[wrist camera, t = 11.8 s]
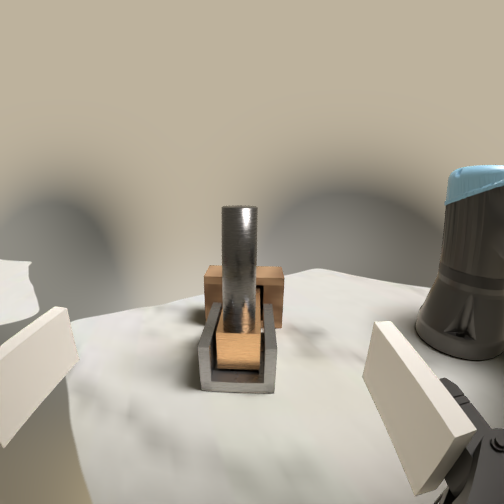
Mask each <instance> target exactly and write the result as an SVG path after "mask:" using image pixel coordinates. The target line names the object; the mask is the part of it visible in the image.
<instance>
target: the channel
mask: <svg viewBox="0 0 504 504" xmlns="http://www.w3.org/2000/svg"><path fill="white" fill-rule="evenodd" d="M221 312H222V303H218V302H213V304H212V307H211V310H210V313H209V315H208V318H207V321H206V324H205V327H204V330H203V332H202V335H201V338H200V341H199V344H198V358H199V370H200V380H201V390H203V391H218V392H239V393H274V389H275V375H276V360H277V343H276V334H275V325H274V316H273V307H272V304H263V332H262V333H261V340H260V370H246V369H220V368H218V365H217V344H216V331H217V327H218V323H219V320H220V316H221Z"/></svg>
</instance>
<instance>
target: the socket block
mask: <svg viewBox="0 0 504 504" xmlns="http://www.w3.org/2000/svg"><path fill="white" fill-rule="evenodd" d="M256 285H260V324H261V328H263V304H272V307H273V316H274V325H275V328H282V312H283V294H284V275H283V272H282V268H281V267H262V266H261V267H260V266H256ZM204 293H205V316H206V321H207V318H208V315H209V313H210V310H211V307H212V304H213V302H218V303H222V308H223V296H222V266H214V265H210V266H209V268H208V270H207V272H206V274H205V275H204Z"/></svg>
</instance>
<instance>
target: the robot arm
mask: <svg viewBox="0 0 504 504" xmlns="http://www.w3.org/2000/svg"><path fill="white" fill-rule="evenodd" d="M445 206H446V211H445V223H444V233H443V243H442V250H441V256H440V263H439V270H438V275H437V278H436V279H435V282H434V284H433V286H432V288H431V289H430V291H429V294H428V296H427V298H426V300H425V302H424V304H423V305H422V306H421V308H420V310H419V313H418V317H417V322H416V331H417V333H418V334H419V336H420V337H421V338H422V339H423V340H424V341H425V342H426V343H428V344H429V345H430V346H432V347H434V348H435V349H437V350H439V351H441V352H444V353H446V354H449V355H452V356H455V357H459V358H464V359H471V360H484V359H490V358H493V357H496V356H498V355H499V354H501V353H502V352H503V351H504V166H501V165H482V166H469V167H463V168H459V169H456V170H454V171H453V172H452V173H451V174H450V176H449V179H448V187H447V197H446V201H445ZM78 361H79V356H78V352H77V349H76V345H75V341H74V337H73V333H72V329H71V324H70V320H69V315H68V310H67V308H63V307H57V306H55V307H53V308H52V309H50V310H49V311H47V312H46V313H45V314H43V315H42V316H40V317H39V318H38V319H36V320H35V321H34V322H32V323H31V324H29V325H28V326H26V327H25V328H24V329H22V330H21V331H20V332H19V333H17V334H16V335H14V336H13V337H12V338H10V339H9V340H8V341H6V342H5V343H4V344H2V345H1V346H0V446H1V447H3V448H5V446H6V445H7V444H8V443H9V441H10V440H11V439H12V438H13V436H14V435H15V434H16V433H17V431H18V430H19V429H20V428H21V427H22V425H23V424H24V423H25V422H26V420H27V419H28V418H29V417H30V416H31V415H32V413H33V412H34V411H35V410H36V409H37V407H38V406H39V405H40V404H41V403H42V402H43V400H44V399H45V398H46V397H47V396H48V395H49V393H50V392H51V391H52V390H53V389H54V388H55V386H56V385H57V384H58V383H59V382H60V381H61V380H62V379H63V378H64V376H65V375H66V374H67V373H68V372H69V371H70V370H71V369H72V368H73V366H74V365H75V364H76V363H77V362H78ZM362 377H363V379H364V382H365V384H366V386H367V388H368V390H369V392H370V394H371V397H372V399H373V401H374V403H375V405H376V407H377V410H378V412H379V414H380V416H381V418H382V421H383V423H384V425H385V427H386V429H387V432H388V434H389V436H390V438H391V441H392V443H393V445H394V448H395V450H396V452H397V455H398V457H399V459H400V462H401V464H402V466H403V469H404V471H405V473H406V476H407V478H408V481H409V483H410V486H411V488H412V490H413V493H414V495H415V496H417V495H421V494H424V493H427V492H430V491H433V490H436V489H437V487H438V486H439V485H440V484H441V482H442V481H443V480H444V479H445V481H446V483H447V485H448V486H447V488H446V489H445V490H444V491H443V493H442V494H441V495H440V496H439V497H438V498H437V500H436V501H435V503H434V504H438V502H439V501H440V503H439V504H504V429H499V428H495V429H491V428H490V426H489V425H488V424H487V422H486V421H485V420H484V419H483V417H482V416H481V415H480V413H479V412H478V411H477V410H476V408H475V407H474V406H473V405H472V403H470V401H469V400H468V398H467V397H466V396H464V393H463V392H462V391H461V390H460V389H459V387H458V386H457V385H456V384H454V383H453V382H451V381H450V380H448V379H447V378H442V379H438V377H437V376H436V375H435V374H434V372H433V371H432V370H431V369H430V367H429V366H428V365H427V364H426V362H425V361H424V360H423V359H422V358H421V356H420V355H419V354H418V353H417V351H416V350H415V349H414V348H413V347H412V345H411V344H410V343H409V342H408V341H407V339H406V338H405V337H404V336H403V335H402V334H401V332H400V331H399V330H398V329H397V328H396V326H395V325H394V324H393V323H392V322H391V321H382V322H374V326H373V331H372V336H371V341H370V346H369V350H368V355H367V359H366V364H365V368H364V372H363V376H362Z"/></svg>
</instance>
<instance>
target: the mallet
mask: <svg viewBox="0 0 504 504" xmlns="http://www.w3.org/2000/svg"><path fill="white" fill-rule="evenodd" d="M256 261H257V207H255V206H223V207H222V296H223V308H222V312H221V316H220V320H219V323H218V327H217V331H216V344H217V365H218V368H220V369H246V370H260V340H261V324H260V285H256Z"/></svg>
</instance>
